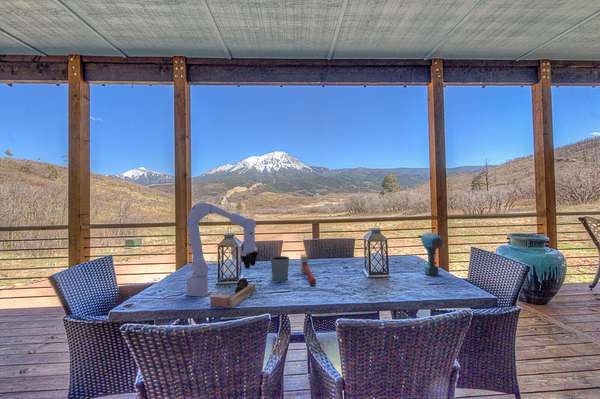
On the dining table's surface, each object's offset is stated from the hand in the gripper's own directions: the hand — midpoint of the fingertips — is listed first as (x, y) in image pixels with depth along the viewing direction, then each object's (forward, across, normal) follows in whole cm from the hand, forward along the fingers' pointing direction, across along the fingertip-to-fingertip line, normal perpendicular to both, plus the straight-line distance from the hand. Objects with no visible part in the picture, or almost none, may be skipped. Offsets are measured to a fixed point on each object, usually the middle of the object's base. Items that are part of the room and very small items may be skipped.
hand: (250, 267), depth 159 cm
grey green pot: (+10, +13, -12) cm, 20 cm away
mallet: (+10, +19, -26) cm, 34 cm away
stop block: (+9, -30, 0) cm, 31 cm away
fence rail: (+9, -20, -6) cm, 23 cm away
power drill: (+10, +42, -92) cm, 102 cm away
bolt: (+10, -13, -1) cm, 16 cm away
